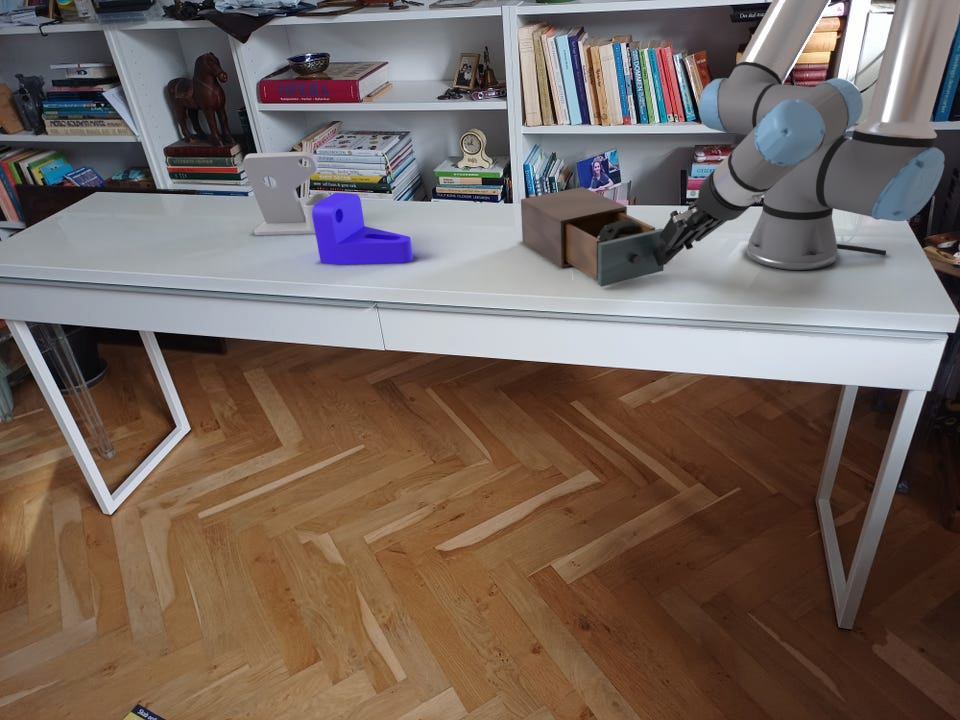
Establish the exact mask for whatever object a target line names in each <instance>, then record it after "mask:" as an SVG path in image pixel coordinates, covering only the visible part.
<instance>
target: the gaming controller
mask: <svg viewBox="0 0 960 720" xmlns="http://www.w3.org/2000/svg"><path fill="white" fill-rule="evenodd" d="M637 231H638V225H637V224H636V223H635V222H633V221H619V222H615V223H611V224H608V225H606V226H604V227H603V228H602V230H601V231H600V233H599V235H598V236H597V239H599V240H601V242H605V241H610V240H614V239H617V238H618V236H619V235H621V234H632V233H635V232H637Z"/></svg>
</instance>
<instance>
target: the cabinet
mask: <svg viewBox="0 0 960 720" xmlns="http://www.w3.org/2000/svg"><path fill="white" fill-rule="evenodd" d="M520 210H521V211H520V213H521V215H520V216H521V237H522V244H523V245H525V246H527V248H530V249H531V250H533V251H534V252H536V253H538V255H540V256H542V257H544V258H545V259H547V260H548V261H550V262H551V263H552V264H555V265H556V266H558V267H559V268H561V269H564V268H568V267H573V265H571V264H569V263H568V262H566V261H565V260H564V224H563V223H568V222H572V221H577V220H581V219H586V218H590V217H595V216H600V215H604V214H609V213H613V212H618V211H620V212H622V213H624V214H626V215H628V206H627V205H624V204H622V203H621V202H620V203H619V202H617V201H616V200H613V199H610V198H609V197H606V196H604V195H602V194H600V193H597V192H595V191H593V190H590V189H588V188H586V187H584V186H580V187H576V188H570V189H565V190H561V191H560V190H559V191H555V192H550V193H546V194H541V195H536V196H535V195H534V196H530V197H525V198H521V199H520Z"/></svg>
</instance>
